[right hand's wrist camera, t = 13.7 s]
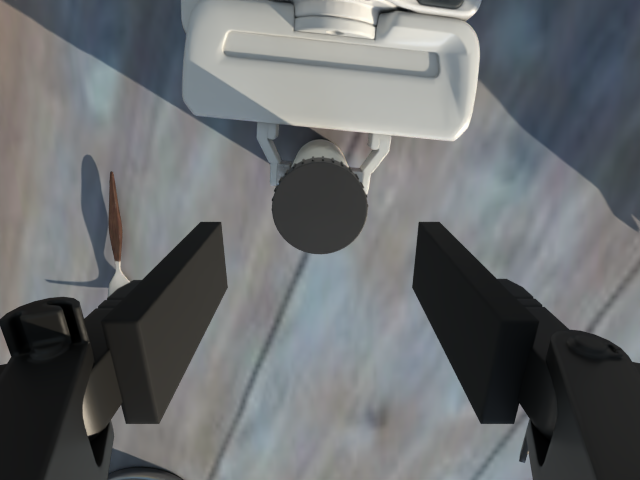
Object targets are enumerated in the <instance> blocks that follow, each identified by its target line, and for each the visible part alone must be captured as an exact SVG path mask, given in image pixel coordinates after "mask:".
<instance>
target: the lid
mask: <svg viewBox="0 0 640 480" xmlns="http://www.w3.org/2000/svg"><path fill="white" fill-rule="evenodd" d="M278 183H279V185H277V186H276V188H275V190H274V192H275V194H274V196H273V198H272V201H273V202H272V214H273V219H274V222H275V225H276V227H277V229H278V231H279V233H280V234H281V235H282V237H283V238H284V239H285V240H286V241H287V242H288V243H289V244H291V245H292V246H293V247H295V248H297V249H299V250H301V251H304V252H307V253H312V254H328V253H332V252H336V251H338V250H341V249H343V248H345V247H346V246H348V245H349V244H350V243H352V242H353V241H354V240H355V239H356V238H357V236H358V235H359V234H360V232H361V231H362V229H363V227H364V224H365V221H366V218H367V210H368V204H367V195H366V193H365V191H364V189H363V188H364V186H363V184H362V182H360V181H359V177H358V175H357V174H354V173H353V171H352V169H351V167H347V166H346V165H344V164H343V162H342V161H341V162H339V161H336V160H334V158H332V159H330V158H324V156H322V157H317V158H314V156H313V157H312V158H310V159H306V160H305V159H302V161H301V162H299V163H297V164H296V163H294V165H293V167H291V168H290V169H289V170H288V169H287V170H286V172H285V175H284V176H283V177H282V176H281V178H280V180H279V182H278Z"/></svg>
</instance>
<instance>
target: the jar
mask: <svg viewBox="0 0 640 480" xmlns="http://www.w3.org/2000/svg"><path fill="white" fill-rule="evenodd" d="M313 156H314V158H317V157H322V156H324V158H330V159H332V158H334V160H336V161H339V162H341V161H342V162H343V164H344V165H346V166H347V167H349V166H348V164H347V162H346V160H345V158H344V155H343V153H342V151H341V150H340V149H339V148H338V146H336V145H335V144H334V143H332V142H330V141H327V140H323V139H318V140H312V141H310V142H308V143H306V144H305V145H303V146H302V147H301V149H300V150H299V151H298V153H297V155H296V157H295V160H294V162H293V164H292V166H291V167H293V165H294V163H296V164H297V163H299V162H301V161H302V159H305V160H306V159H310V158H312V157H313Z"/></svg>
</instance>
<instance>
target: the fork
mask: <svg viewBox="0 0 640 480" xmlns="http://www.w3.org/2000/svg"><path fill="white" fill-rule="evenodd" d="M109 234H110V240H111V245H112V250H113V254H114V259H115V265H116V272H115V274H114V276H113V278H112V280H111V282H110V284H109V289H108V297H109V296H110V295H111V294H112V293H113V292H114V291H116V290H117V289H118V288H120V287H122V286H123V285H125V284H127V283H129V282H130V281H129V280H128V279H127V278H126V277H125V275H124V274H123V273H122V271H121V268H120V261H121V248H122V224H121V218H120V212H119V207H118V200H117V193H116V186H115V180H114V174H113V172H110V192H109Z"/></svg>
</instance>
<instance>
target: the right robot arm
mask: <svg viewBox="0 0 640 480" xmlns="http://www.w3.org/2000/svg"><path fill="white" fill-rule="evenodd" d="M227 288H228V286H227V276H226V266H225V256H224V246H223V236H222V226H221V222H200V223H199V224H198V225H197V226H196V227H195V228H194V229H193V230H192V231H191V232H190V233H189V234H188V235H187V236H186V237H185V238H184V239H183V240H182V241H181V242H180V243H179V244H178V245H177V246H176V247H175V248H174V249H173V250H172V251H171V252H170V253H169V254H168V255H167V256H166V257H165V258H164V259H163V260H162V261H161V262H160V263H159V264H158V265H157V266H156V267H155V268H154V269H153V270H152V271H151V272H150V273H149V274H148V275H147V276H146V277H145V278H144V279H143V280H133V281H131V282H129V283H127V284H125V285H123V286H122V287H120V288H118V289H117V290H116V291H114V292H113V293H112V294H111V295H110V296H109V297H108V298H107V300H105V301H104V302H102V303H101V304H100V305H99V306H98V308H96V309H95V310H94V311H93V312H91V313H90V314H89V315H88V316H87V317H86V318H85V319H84V317H83V314H82V310H81V306H80V302H79V301H77V300H76V299H74V298H68V297H56V298H47V299H43V300H39V301H34V302H31V303H29V304H26V305H23V306H20V307H18V308H16V309H14V310H12V311H11V312H9V313H7V314H6V315H4V316H3V317H2V318H1V319H0V327H1V329H2V332H3V335H4V338H5V340H6V343H7V346H8V349H9V352H10V354H11V358H10V360H9V362H8V363H7V364H4V365H0V480H183V479H181V478H179V477H177V476H175V475H173V474H170V473H168V472H165V471H161V470H157V469H152V468H127V469H122V470H118V471H116V472H113V473H111V474H109V475H108V471H109V465H110V459H111V452H112V446H113V440H114V432H113V426H112V423H111V419H112V417H113V416H114V414H115V413H116V411H117V410H118V408H119V407H120V405H121V406H122V410H123V414H124V418H125V422H126V424H159V423H160V421H161V419H162V417H163V415H164V413H165V411H166V409H167V407H168V405H169V403H170V401H171V399H172V397H173V395H174V393H175V391H176V389H177V387H178V385H179V383H180V381H181V379H182V377H183V375H184V373H185V371H186V369H187V367H188V365H189V363H190V361H191V359H192V357H193V355H194V353H195V351H196V349H197V347H198V345H199V343H200V341H201V340H202V338H203V336H204V334H205V332H206V330H207V328H208V326H209V324H210V322H211V320H212V318H213V316H214V314H215V312H216V310H217V308H218V306H219V304H220V302H221V300H222V298H223V296H224V294H225V292H226V290H227ZM412 288H413V290H414V292H415V294H416V296H417V298H418V300H419V302H420V304H421V306H422V308H423V310H424V312H425V314H426V316H427V318H428V320H429V322H430V324H431V326H432V328H433V330H434V332H435V334H436V336H437V338H438V340H439V341H440V343H441V345H442V347H443V349H444V351H445V353H446V355H447V357H448V359H449V361H450V363H451V365H452V367H453V369H454V371H455V373H456V375H457V377H458V379H459V381H460V383H461V385H462V387H463V389H464V391H465V393H466V395H467V397H468V399H469V401H470V403H471V405H472V407H473V409H474V411H475V413H476V415H477V417H478V419H479V421H480V423H481V424H514V422H515V418H516V414H517V410H518V406H519V403H520V405H521V406H522V408H523V409H524V411H525V412H526V414H527V415H528V417H529V418H530V419H529V423H528V426H527V430H526V434H525V438H524V441H523V445H522V449H521V453H520V459H519V461H520V462H523V463H525V461H526V457H527V454H529V458H530V464H531V470H532V477H533V480H640V363H635V362H632V361H631V359H630V358H629V356H628V355H627V354H626V353H625V352H624V351H623V350H622V349H621V348H620V347H618V346H617V345H615V344H613V343H612V342H610V341H609V340H606V339H604V338H602V337H599V336H597V335H594V334H591V333H587V332H583V331H577V330H569V329H568V328H567V327H566V326H565V325H564V324H563V323H562V322H560V321H559V320H558V319H557V318H556V317H555V316H554V315H553V314H552V313H550V312H549V311H548V310H547V309H546V308H545V307H542V304H541V303H539V302H538V301H537V300H536V299H533V296H532V295H531V294H530V293H528V292H527V291H526V290H525V289H524V288H523V287H521V286H519V285H517V284H515V283H513V282H511V281H510V280H508V279H496V278H495V277H494V276H493V275H492V274H491V273H490V272H489V271H488V270H487V269H486V268H485V267H484V266H483V265H482V264H481V263H480V262H479V261H478V260H477V259H476V258H475V257H474V256H473V255H472V254H471V253H470V252H469V251H468V250H467V249H466V248H465V247H464V246H463V245H462V244H461V243H460V242H459V241H458V240H457V239H456V238H455V237H454V236H453V235H452V234H451V233H450V232H449V231H448V230H447V229H446V228H445V227H444V226H443V225H442V224H441V223H440V222H419V226H418V236H417V246H416V256H415V266H414V276H413V286H412Z"/></svg>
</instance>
